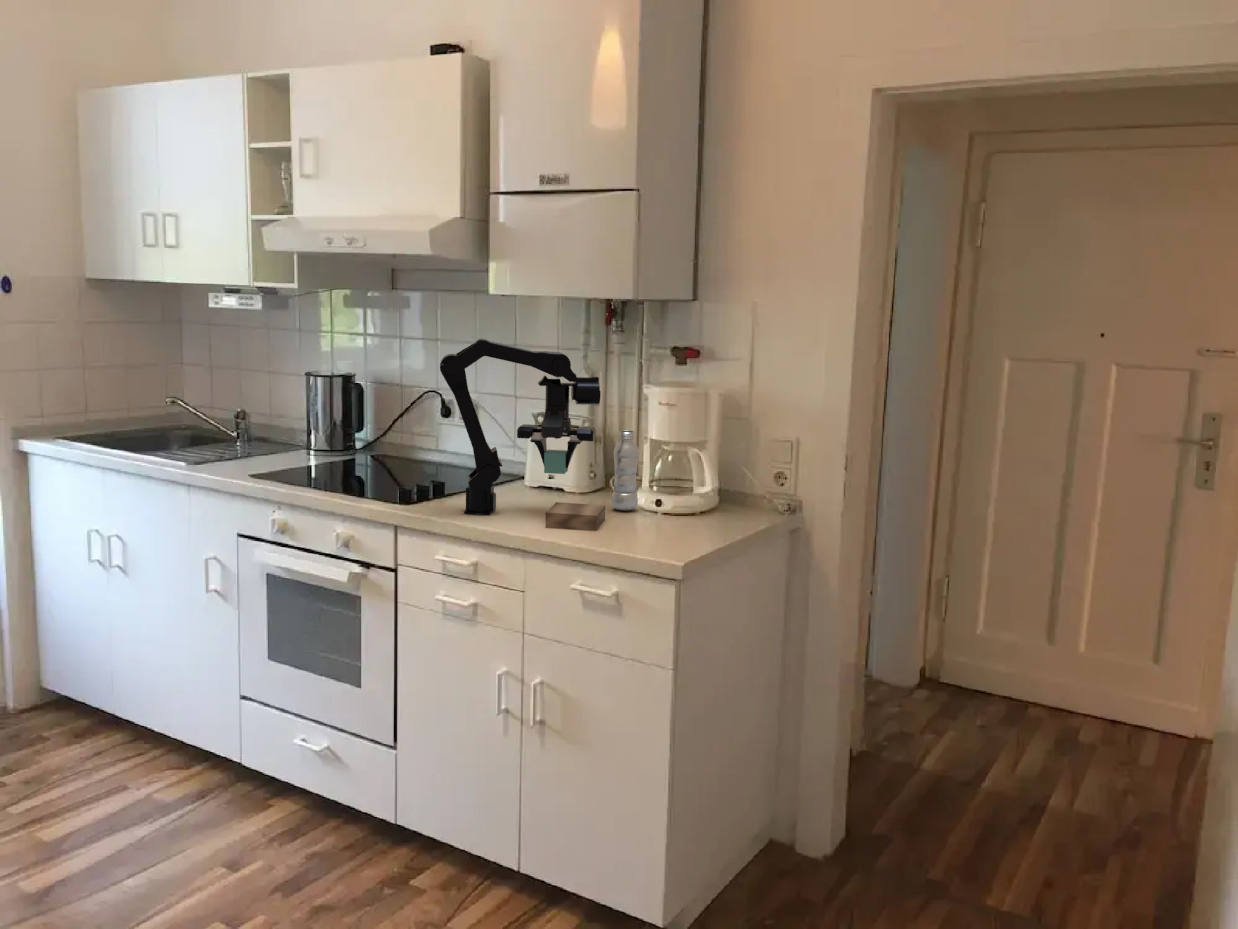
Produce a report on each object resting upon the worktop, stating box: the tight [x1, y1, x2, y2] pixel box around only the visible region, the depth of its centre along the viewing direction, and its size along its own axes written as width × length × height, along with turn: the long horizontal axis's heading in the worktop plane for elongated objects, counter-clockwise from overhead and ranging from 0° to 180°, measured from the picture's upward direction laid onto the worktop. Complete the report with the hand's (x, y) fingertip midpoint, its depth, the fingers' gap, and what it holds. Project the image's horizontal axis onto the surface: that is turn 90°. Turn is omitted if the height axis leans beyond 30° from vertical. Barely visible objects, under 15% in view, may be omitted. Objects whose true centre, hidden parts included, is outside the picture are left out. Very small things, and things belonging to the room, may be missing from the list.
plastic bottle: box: [611, 429, 640, 512], centre depth 261 cm, size 6×7×20 cm
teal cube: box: [543, 449, 569, 475], centre depth 257 cm, size 5×5×5 cm
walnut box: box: [545, 502, 606, 532], centre depth 246 cm, size 12×12×4 cm
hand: (556, 467), depth 257 cm, fingers closed on teal cube, 5 cm apart
